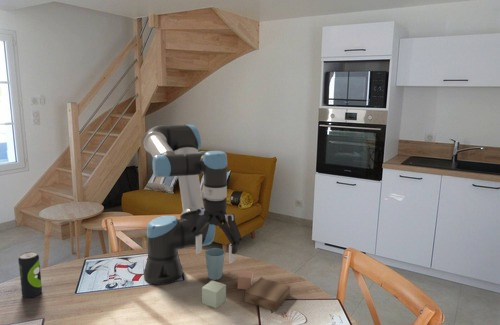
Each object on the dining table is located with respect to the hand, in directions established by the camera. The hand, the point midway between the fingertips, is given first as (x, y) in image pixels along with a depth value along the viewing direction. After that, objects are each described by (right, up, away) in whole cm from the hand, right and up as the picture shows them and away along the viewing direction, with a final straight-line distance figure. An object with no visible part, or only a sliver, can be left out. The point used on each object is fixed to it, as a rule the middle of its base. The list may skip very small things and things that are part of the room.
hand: (214, 257), depth 129 cm
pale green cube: (-1, -16, +3) cm, 17 cm away
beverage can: (-66, -15, +5) cm, 68 cm away
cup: (-2, -13, +21) cm, 25 cm away
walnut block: (+18, -17, +6) cm, 25 cm away
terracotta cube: (+10, -15, +14) cm, 23 cm away
